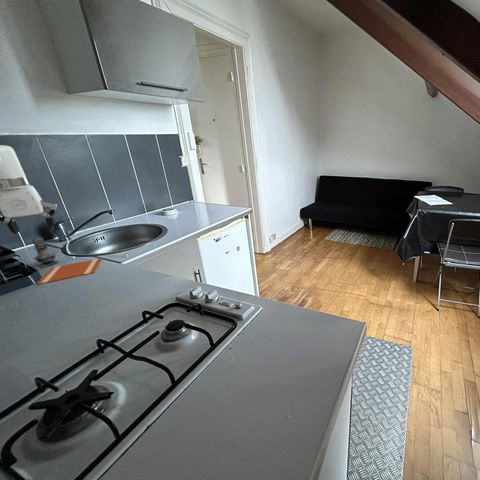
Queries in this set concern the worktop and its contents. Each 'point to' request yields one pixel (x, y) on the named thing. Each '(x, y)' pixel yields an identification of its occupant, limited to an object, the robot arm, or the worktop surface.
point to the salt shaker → (43, 253)
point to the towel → (70, 271)
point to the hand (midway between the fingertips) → (34, 230)
